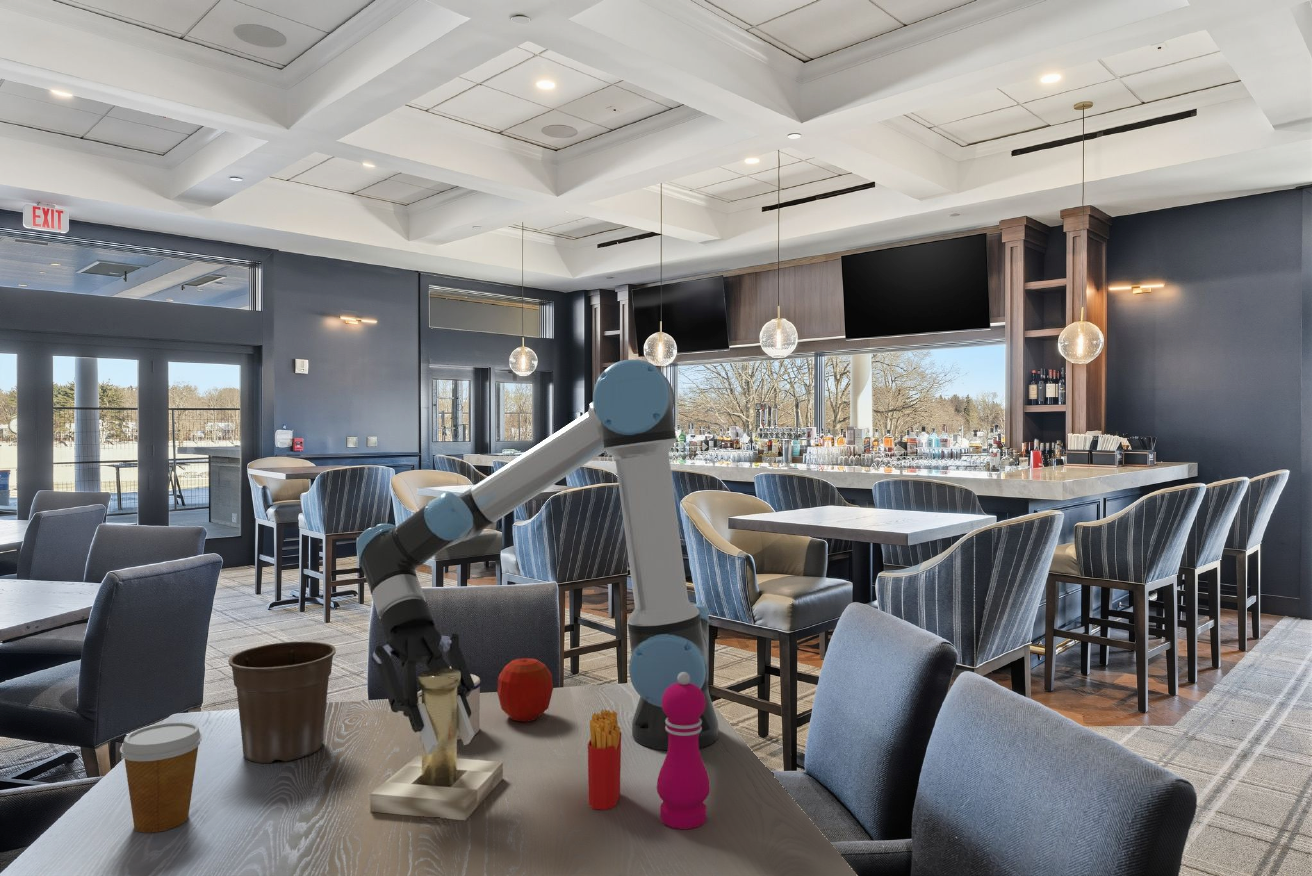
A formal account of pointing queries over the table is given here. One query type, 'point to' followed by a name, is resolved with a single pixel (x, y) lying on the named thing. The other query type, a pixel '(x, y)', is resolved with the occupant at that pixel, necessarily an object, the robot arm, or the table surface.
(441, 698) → the gold stepped cylinder
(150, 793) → the disposable coffee cup
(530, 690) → the apple
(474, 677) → the teacup with lid
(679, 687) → the pepper mill
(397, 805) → the socket block
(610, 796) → the french fries
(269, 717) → the plant pot
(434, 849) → the table surface
